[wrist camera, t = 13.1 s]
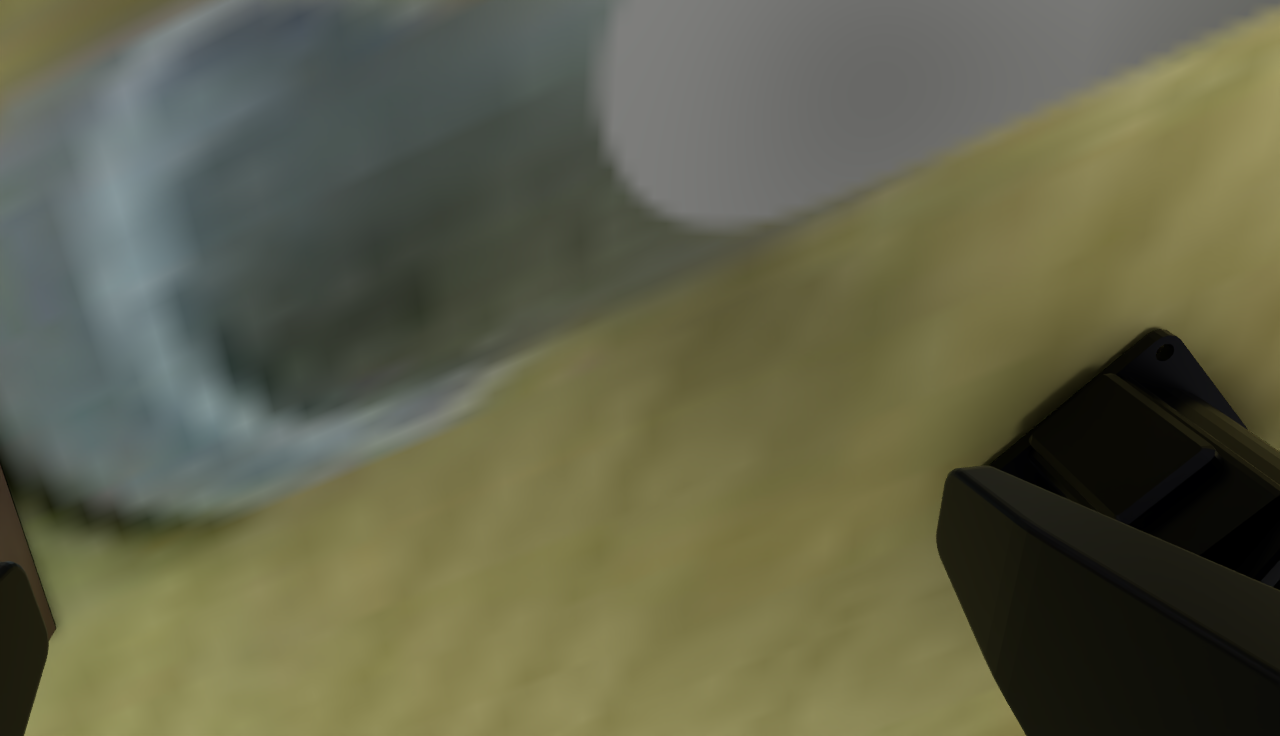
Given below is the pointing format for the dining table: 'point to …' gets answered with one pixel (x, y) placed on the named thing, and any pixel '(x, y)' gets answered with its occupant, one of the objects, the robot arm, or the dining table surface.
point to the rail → (20, 550)
